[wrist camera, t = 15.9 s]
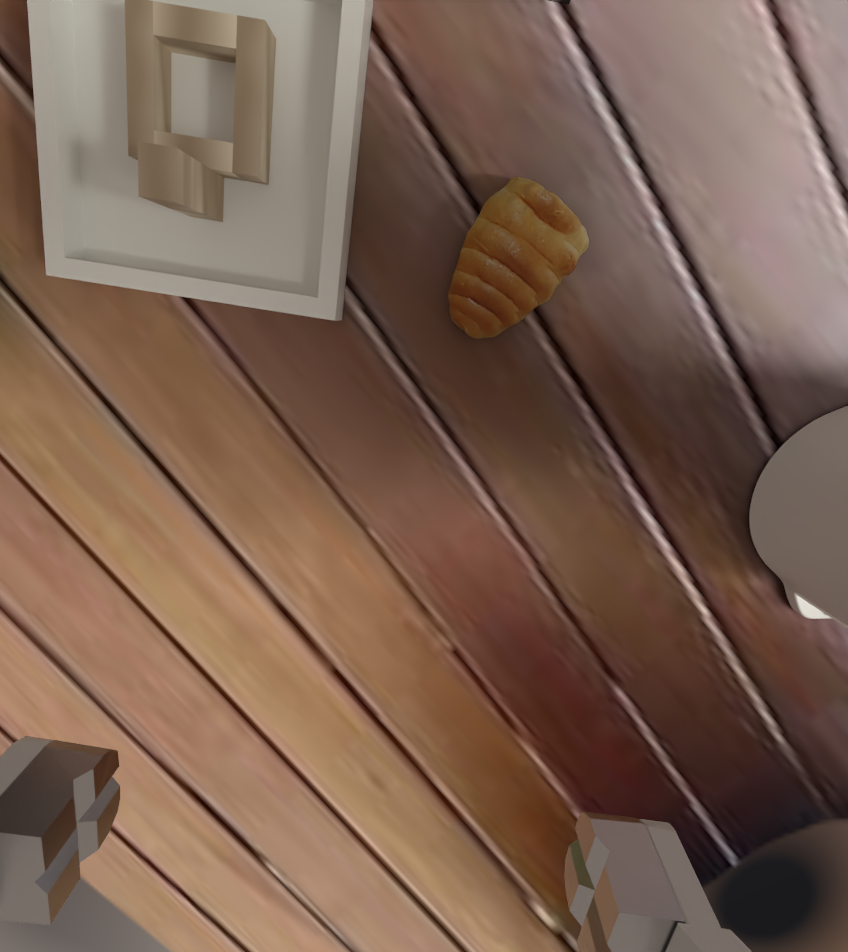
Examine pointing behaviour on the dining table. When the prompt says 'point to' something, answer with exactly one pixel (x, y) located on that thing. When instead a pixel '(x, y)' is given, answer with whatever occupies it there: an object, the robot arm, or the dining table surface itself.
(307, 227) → the tray
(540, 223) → the pastry
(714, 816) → the dining table surface
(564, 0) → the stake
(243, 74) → the ring
